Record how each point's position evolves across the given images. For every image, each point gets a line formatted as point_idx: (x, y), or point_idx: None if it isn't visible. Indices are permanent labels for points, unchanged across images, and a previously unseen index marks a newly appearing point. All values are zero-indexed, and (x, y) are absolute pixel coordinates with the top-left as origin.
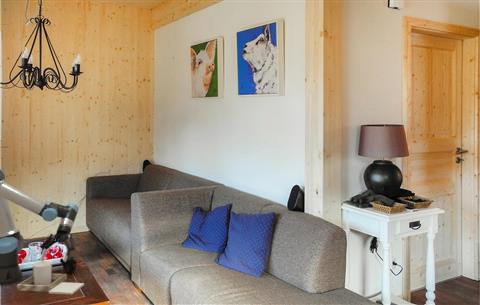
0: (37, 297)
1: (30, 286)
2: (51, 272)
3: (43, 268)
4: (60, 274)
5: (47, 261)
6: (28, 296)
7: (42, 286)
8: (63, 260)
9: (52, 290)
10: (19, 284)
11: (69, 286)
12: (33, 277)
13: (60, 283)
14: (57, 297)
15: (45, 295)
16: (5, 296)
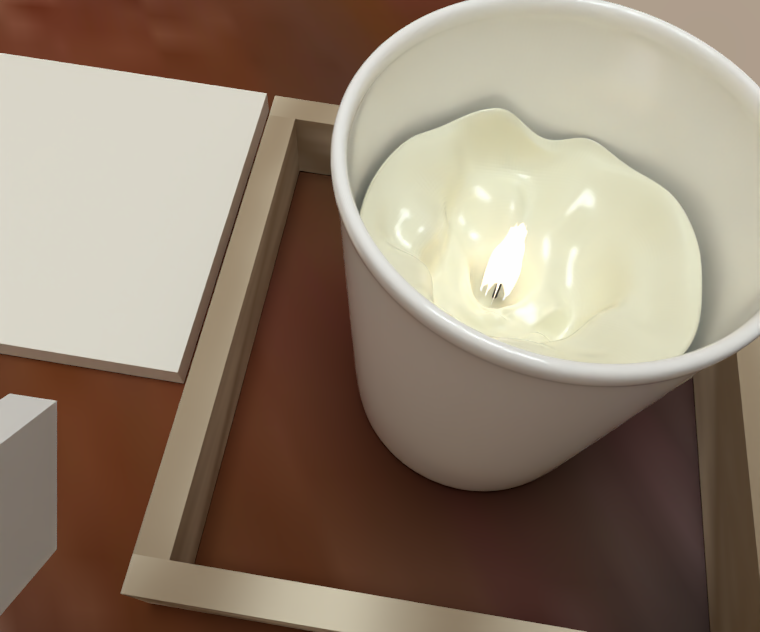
0: (356, 39)
1: None
2: (352, 323)
3: (440, 54)
4: (249, 574)
5: (544, 358)
6: None
7: None
8: (49, 464)
9: (229, 117)
10: None
11: (26, 213)
12: (738, 508)
13: (186, 324)
14: (137, 24)
15: (287, 72)
16: None
